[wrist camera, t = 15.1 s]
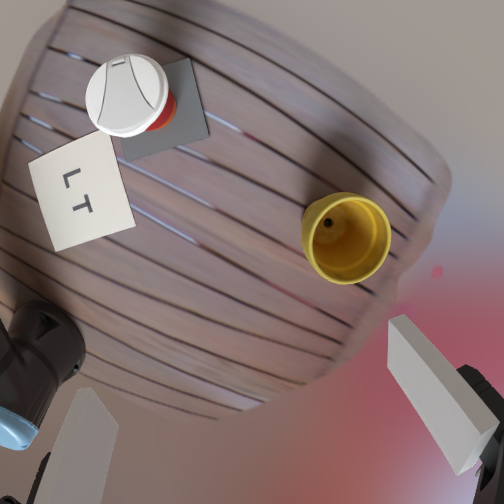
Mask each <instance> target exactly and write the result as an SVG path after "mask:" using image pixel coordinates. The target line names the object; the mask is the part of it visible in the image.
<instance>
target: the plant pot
mask: <svg viewBox="0 0 504 504" xmlns="http://www.w3.org/2000/svg"><path fill="white" fill-rule="evenodd" d="M327 218H329V219H331V221H332V223H331V225H330V226H329V227H325V226H324V221H325V219H327ZM301 240H302V247H303V250H304V253H305V255H306V257H307V259H308V260H309V262H310V263H311V265H312V266H313V267H314V269H315V270H316V271H317V272H318V273H319V274H320V275H321V276H322V277H324V278H325V279H327V280H329V281H331V282H334V283H338V284H353V283H357V282H360V281H362V280H364V279H366V278H368V277H369V276H371V275H372V274H373V273H374V272H375V271H376V270H377V269H378V268H379V267H380V266H381V264H382V263H383V262H384V260H385V258H386V256H387V254H388V251H389V248H390V243H391V228H390V223H389V220H388V218H387V216H386V214H385V212H384V211H383V209H382V208H381V207H380V206H379V205H378V204H377V203H375V202H374V201H372V200H371V199H369V198H366V197H364V196H361V195H358V194H355V193H350V192H338V193H334V194H331V195H328V196H326V197H324V198H323V199H319V200H316V201H314V202H313V203H312V204H310V205H309V206H308V208H307V209H306V211H305V212H304V215H303V218H302V235H301Z"/></svg>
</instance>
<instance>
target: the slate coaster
mask: <svg viewBox="0 0 504 504" xmlns="http://www.w3.org/2000/svg"><path fill="white" fill-rule="evenodd" d="M161 67H162V69H163V70H164V72H165V75H166V77H167V81H168V86H169V88H170V90H171V92H172V94H173V96H174V98H175V101H176V113H175V115H174V117H173V119H172V120H171V122H170V123H169V124H168V125H166V126H165V127H163V128H161V129H158V130H152V131H144V132H142V133H140V134H138V135H135V136H132V137H126V138H124V137H120V138H121V142H122V146H123V149H124V153H125V157H126V161H127V162H129V161H132V160H135V159H138V158H141V157H144V156H147V155H150V154H153V153H156V152H160V151H163V150H166V149H169V148H173V147H176V146H179V145H183V144H186V143H190V142H193V141H197V140H201V139H204V138H208V137H209V134H208V130H207V126H206V122H205V118H204V114H203V110H202V106H201V102H200V98H199V94H198V90H197V86H196V82H195V78H194V74H193V69H192V65H191V61H190V58H187V59H183V60H180V61H176V62H173V63H169V64H166V65H163V66H161Z"/></svg>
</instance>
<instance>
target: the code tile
mask: <svg viewBox="0 0 504 504" xmlns="http://www.w3.org/2000/svg"><path fill="white" fill-rule="evenodd" d="M28 165H29V169H30V173H31V177H32V180H33V184H34V188H35V191H36V195H37V198H38V201H39V205H40V208H41V211H42V214H43V217H44V220H45V223H46V226H47V229H48V232H49V235H50V237H51V240H52V243H53V246H54V248H55V251H56V252H57V251H60V250H63V249H66V248H69V247H72V246H75V245H78V244H81V243H84V242H87V241H90V240H93V239H96V238H99V237H102V236H105V235H108V234H112V233H115V232H118V231H121V230H124V229H128V228H131V227H134V226H136V223H135V220H134V217H133V214H132V211H131V208H130V205H129V201H128V198H127V195H126V191H125V188H124V185H123V181H122V178H121V174H120V171H119V167H118V163H117V160H116V156H115V152H114V148H113V145H112V141H111V137H110V134H107V133H105V132H103V131H101V130H98V131H96V132H93V133H91V134H89V135H86V136H84V137H82V138H79V139H77V140H75V141H73V142H70V143H68V144H66V145H64V146H62V147H60V148H58V149H56V150H53V151H51V152H49V153H47V154H45V155H43V156H41V157H39V158H38V159H36V160H34V161H32V162H30V163H28Z"/></svg>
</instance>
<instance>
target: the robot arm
mask: <svg viewBox="0 0 504 504" xmlns="http://www.w3.org/2000/svg"><path fill="white" fill-rule="evenodd" d="M84 359H85V345H84V341H83V339H82V336H81V334H80V332H79V331H78V329H77V328H76V326H75V325H74V324H73V322H72V321H71V320H70V319H69V318H68V317H67V316H66V315H65V314H64V313H62V312H61V311H60V310H58V309H57V308H55V307H53V306H52V305H49V304H47V303H44V302H39V301H31V302H27V303H25V304H24V305H22V306H21V307H20V308H19V309H18V310H17V311H16V312H15V314H14V315H13V317H12V320H11V323H10V325H9V328H8V331H6V329H5V327H4V325H3V323H2V321H1V319H0V445H1V446H4V447H6V448H9V449H13V450H24V449H26V448H28V447H29V446H30V444H31V442H32V440H33V438H34V437H35V435H36V434H37V433H38V431H39V428H40V425H41V423H42V421H43V419H44V416H45V414H46V412H47V410H48V408H49V406H50V404H51V402H52V400H53V398H54V396H55V393H56V392H57V390H58V388H59V387H60V386H61V385H62V384H64V383H65V382H66V381H68V380H69V379H70V378H72V377H73V376H74V375H76V374H77V372H78V371H79V370H80V368H81V366H82V364H83V362H84ZM387 367H388V369H389V370H390V371H391V373H392V374H393V376H394V378H395V379H396V381H397V382H398V383H399V385H400V386H401V388H402V389H403V391H404V392H405V394H406V396H407V397H408V399H409V400H410V402H411V403H412V405H413V406H414V408H415V409H416V411H417V412H418V414H419V415H420V417H421V418H422V420H423V421H424V423H425V424H426V426H427V428H428V429H429V431H430V433H431V434H432V436H433V437H434V439H435V441H436V442H437V444H438V445H439V447H440V449H441V450H442V452H443V454H444V455H445V457H446V458H447V460H448V461H449V463H450V465H451V467H452V468H453V470H454V471H455V473H456V475H457V476H458V475H459V474H461V473H463V472H464V471H466V470H468V469H469V468H471V467H472V466H474V465H475V463H476V462H477V460H478V459H479V458H480V459H481V461H482V462H483V463H482V465H481V466H480V468H479V469H478V471H477V472H476V475H475V476H476V477H477V476H478V475H479V474H480V476H479V481H478V485H477V489H476V493H475V497H474V500H473V504H504V399H503V398H502V396H501V395H500V394H499V393H498V392H497V391H496V390H495V389H494V387H492V386H491V384H490V383H489V382H488V381H487V380H485V378H484V376H483V375H482V374H481V373H480V372H479V371H478V370H477V369H474V368H473V367H471V366H468V365H466V364H465V365H464V366H462V367H460V368H458V369H455V368H454V367H453V366H452V365H451V364H450V363H449V362H448V361H447V359H446V358H445V357H444V356H443V355H442V354H441V353H440V352H439V351H438V349H437V348H436V347H435V346H434V345H433V344H432V343H431V342H430V341H429V340H428V339H427V338H426V337H425V336H424V335H423V333H422V332H421V331H420V330H419V329H418V328H417V327H416V326H415V325H414V324H413V323H412V322H411V321H410V320H409V319H408V317H407V316H406V315H405V314H403V315H400V316H397V317H395V318H392V319H389V332H388V365H387ZM118 428H119V425H118V424H117V422H116V421H115V420H114V418H113V417H112V416H111V414H110V413H109V412H108V410H107V409H106V408H105V406H104V405H103V403H102V402H101V401H100V399H99V398H98V396H97V395H96V393H95V392H94V391H93V389H92V388H91V387H89V388H79V389H78V391H77V393H76V395H75V397H74V400H73V402H72V404H71V406H70V409H69V411H68V413H67V416H66V418H65V420H64V423H63V425H62V427H61V430H60V432H59V435H58V437H57V439H56V442H55V445H54V447H53V450H52V452H48V453H47V455H46V456H45V457H44V458H43V460H42V461H41V464H40V467H39V469H38V470H39V472H37V475H36V479H35V480H34V483H33V486H32V489H31V492H30V495H29V497H28V500H27V504H101V500H102V495H103V490H104V486H105V481H106V476H107V472H108V468H109V464H110V460H111V455H112V451H113V447H114V443H115V440H116V436H117V432H118ZM0 504H21V503H20V502H18V501H17V500H16V499H14V498H13V497H12V496H4V497H2V498H1V499H0Z"/></svg>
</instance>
